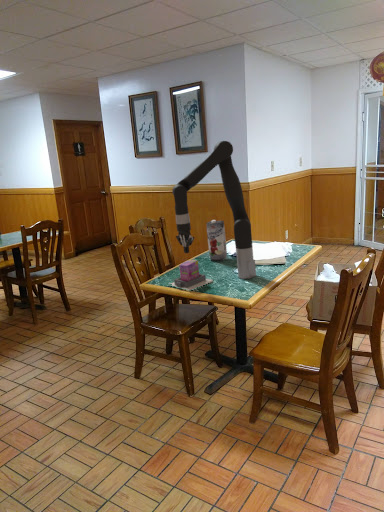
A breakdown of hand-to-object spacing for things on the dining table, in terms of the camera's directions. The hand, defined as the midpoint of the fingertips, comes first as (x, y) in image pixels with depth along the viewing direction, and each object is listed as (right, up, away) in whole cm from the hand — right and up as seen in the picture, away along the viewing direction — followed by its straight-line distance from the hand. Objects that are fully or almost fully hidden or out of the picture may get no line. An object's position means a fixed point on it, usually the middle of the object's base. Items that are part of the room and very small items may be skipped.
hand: (186, 252), depth 217 cm
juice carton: (+21, -4, +45) cm, 50 cm away
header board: (+2, -17, +5) cm, 18 cm away
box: (+2, -17, +4) cm, 17 cm away
